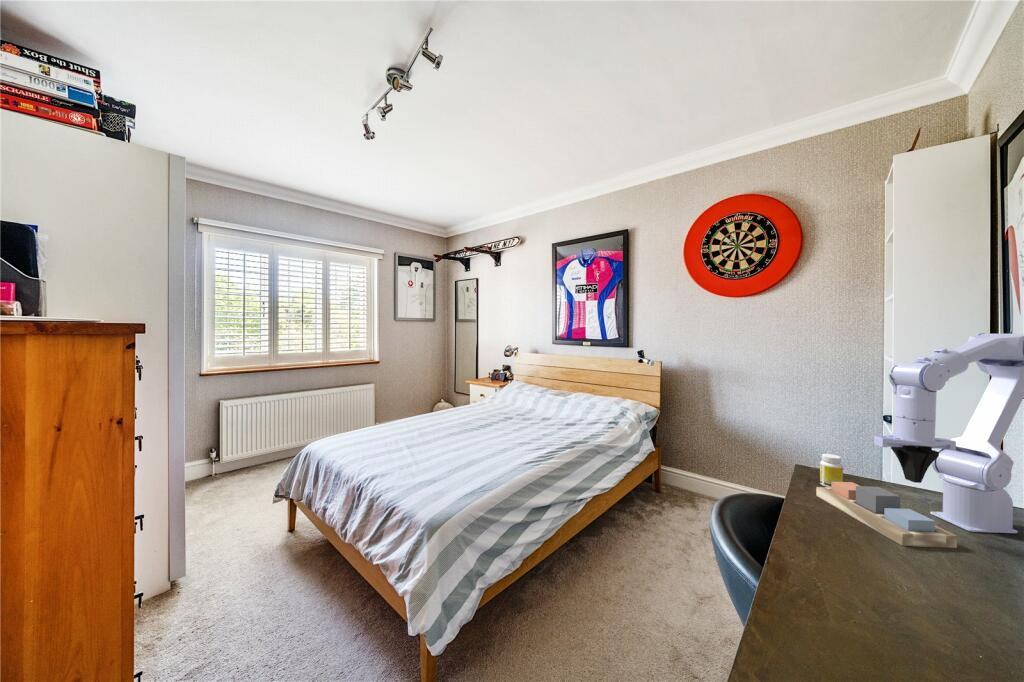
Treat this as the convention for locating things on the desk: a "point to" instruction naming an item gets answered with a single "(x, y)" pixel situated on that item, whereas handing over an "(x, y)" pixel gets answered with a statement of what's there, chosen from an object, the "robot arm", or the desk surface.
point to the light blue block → (909, 520)
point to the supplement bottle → (830, 469)
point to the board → (888, 523)
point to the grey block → (876, 499)
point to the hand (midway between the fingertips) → (913, 480)
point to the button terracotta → (845, 489)
